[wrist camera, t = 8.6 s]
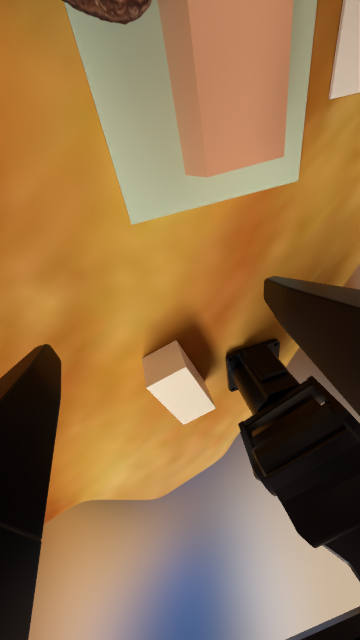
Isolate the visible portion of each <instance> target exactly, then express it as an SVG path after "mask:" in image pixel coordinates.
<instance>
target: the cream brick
mask: <svg viewBox="0 0 360 640" xmlns="http://www.w3.org/2000/svg"><path fill="white" fill-rule="evenodd" d="M142 362H143V368H144V375H145V382H146V388H147V389H148V390H149V391H150V392H151V393H152V394H153V395H154V396H155V397H156V398H157V399H158V400H159V401H160V402H161V403H162V404H163V405H164V406H165V407H166V408H167V409H168V410H169V411H170V412H171V413H172V414H173V415H174V416H175V417H176V418H177V419H178V420H179V421H180V422H181V423H182V424H183V425H184V424H186V423H188V422H190V421H192V420H194V419H196V418H198V417H200V416H202V415H204V414H206V413H208V412H210V411H212V410H214V409H216V407H215V405H214V403H213V400H212V398H211V396H210V393H209V391H208V388H207V386H206V384H205V381H204V380H203V378H202V377H201V376H200V374H199V373H198V371H197V370H196V368H195V367H194V365H193V364H192V362H191V361H190V359H189V358H188V357H187V355H186V354H185V352H184V351H183V349H182V348H181V346H180V345H179V343H178V342H177V340H175V341H173V342H171V343H170V344H168V345H166V346H164V347H162V348H160V349H159V350H157V351H155V352H153V353H151V354H149V355H147V356H146V357H144V358H142Z"/></svg>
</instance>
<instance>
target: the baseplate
mask: <svg viewBox="0 0 360 640" xmlns="http://www.w3.org/2000/svg"><path fill="white" fill-rule="evenodd" d="M64 3H65V7H66V10H67V13H68V16H69V20H70V23H71V26H72V30H73V33H74V36H75V40H76V43H77V46H78V49H79V53H80V56H81V59H82V63H83V66H84V69H85V72H86V76H87V79H88V82H89V86H90V89H91V92H92V95H93V99H94V102H95V105H96V109H97V112H98V115H99V119H100V122H101V125H102V128H103V132H104V135H105V138H106V142H107V145H108V148H109V151H110V155H111V158H112V161H113V165H114V168H115V171H116V175H117V178H118V181H119V184H120V188H121V191H122V194H123V198H124V201H125V204H126V207H127V211H128V214H129V217H130V221H131V224H136V223H140V222H144V221H148V220H151V219H155V218H159V217H163V216H167V215H170V214H174V213H178V212H182V211H186V210H189V209H193V208H197V207H201V206H205V205H208V204H212V203H216V202H220V201H224V200H227V199H231V198H235V197H239V196H243V195H246V194H250V193H254V192H258V191H262V190H265V189H269V188H273V187H277V186H281V185H284V184H288V183H292V182H296V181H298V177H299V167H300V158H301V149H302V139H303V130H304V120H305V111H306V102H307V92H308V83H309V73H310V64H311V55H312V45H313V36H314V26H315V17H316V8H317V0H293V16H292V33H291V49H290V66H289V83H288V99H287V116H286V133H285V149H284V157H281V158H278V159H274V160H270V161H266V162H263V163H259V164H255V165H252V166H248V167H244V168H241V169H237V170H233V171H229V172H226V173H222V174H218V175H215V176H211V177H198V176H189V175H185V169H184V163H183V156H182V150H181V144H180V138H179V131H178V125H177V119H176V113H175V107H174V100H173V94H172V88H171V82H170V75H169V69H168V63H167V57H166V51H165V44H164V38H163V32H162V26H161V19H160V13H159V7H158V1H157V0H152V1H151V4H150V7H149V8H148V9H147V10H146V11H145V12H144V14H143V15H142V16H141V17H140V18H138V19H137V20H135V21H133V22H129V23H128V24H126V25H124V24H119V23H110V22H107V21H102V20H100V19H99V18H95V17H93V16H90V15H87V14H85V13H83V12H80V11H78V10H76V9H74V8H72V7H71V6H70V5H69V4H68V3H66V2H64Z"/></svg>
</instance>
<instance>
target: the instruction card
mask: <svg viewBox="0 0 360 640" xmlns="http://www.w3.org/2000/svg"><path fill="white" fill-rule="evenodd" d="M355 93H360V0H343V5H342V11H341V18H340V25H339V32H338V38H337V45H336V52H335V59H334V65H333V72H332V79H331V86H330V92H329V99H334V98H338V97H342V96H347V95H351V94H355ZM329 99H328V100H329Z"/></svg>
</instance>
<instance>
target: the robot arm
mask: <svg viewBox="0 0 360 640" xmlns="http://www.w3.org/2000/svg"><path fill="white" fill-rule="evenodd" d="M264 300H265V302H266V303H267V305H268V306H269V308H270V309H271V311H272V312H273V314H274V315H275V317H276V318H277V320H278V321H279V323H280V324H281V325H282V327H283V328H284V329H285V330H286V332H287V333H288V334H289V335H290V336H291V337H292V338H293V340H294V341H295V342H296V343H297V344H298V345H299V347H300V348H301V349H302V350H303V351H304V352H305V353H306V355H307V356H308V357H309V358H310V359H311V360H312V362H313V363H314V364H315V365H316V366H317V367H318V368H319V370H320V371H321V372H322V373H323V374H324V375H325V376H326V378H327V379H328V380H329V381H330V382H331V383H332V385H333V386H334V387H335V388H336V389H337V390H338V391H339V393H340V394H341V395H342V396H343V397H344V398H345V400H346V401H347V402H348V403H349V404H350V405H351V406H352V408H353V409H354V410H355V411H356V412H357V413H358V415H359V416H360V290H358V289H352V288H346V287H340V286H334V285H327V284H321V283H315V282H309V281H302V280H296V279H290V278H284V277H277V276H273V277H270V278H267V279H265V281H264ZM279 347H280V342H279V341H278V340H277V339H274V340H270V341H267V342H264V343H261V344H258V345H255V346H252V347H249V348H246V349H243V350H240V351H237V352H234V353H231V354H228V355H227V356H226V358H225V359H226V369H227V379H228V388H229V390H230V391H231V392H233V391H236V390H239V391H240V393H241V395H242V396H243V398H244V400H245V402H246V404H247V405H248V407H249V409H250V411H251V412H252V414H253V416H251V417H250V418H248V419H247V420H245V421H242V422H240V423H239V424H238V425H239V428H240V431H241V432H240V433H241V436H242V439H243V442H244V445H245V448H246V451H247V454H248V456H249V460H250V463H251V465H252V468H253V473H254V476H255V477H256V479H258V480H260V481H261V482H262V483H263V485H264V486H265V487H266V489H268V491H269V492H270V493H271V494H272V495H274V496H277V497H278V498H279V500H280V501H281V503H282V505H283V507H284V508H285V510H286V512H287V514H288V516H289V518H290V519H291V521H292V523H293V525H294V527H295V529H296V531H297V532H298V534H299V535H300V536H301V537H302V538H304V539H305V540H306V541H307V542H308V543H309V544H310V545H311V546H312V547H314V548H317V547H319V546H321V545H322V546H324V547H325V548H327V549H328V550H329V551H331V552H332V553H333V554H335V555H336V556H337V557H338V558H340V559H341V560H342V561H344V562H345V563H347V564H348V565H349V566H350V568H351V569H352V571H353V572H354V574H355V575H356V577H357V578H358V580H359V581H360V423H359V422H358V421H357V420H356V419H355V418H354V417H353V416H352V415H351V414H350V413H349V412H348V411H347V409H346V408H345V407H344V406H342V404H341V403H339V402H338V401H337V400H336V399H335V398H334V397H333V396H332V395H331V394H330V393H329V392H328V391H327V390H326V389H325V388H324V387H323V386H322V385H321V384H320V383H319V382H317V380H316V379H315V378H314V377H313V376H310V377H309V378H307V380H306V381H304V382H303V383H302V384H299V383H298V381H297V380H296V379H295V378H294V377H293V375H292V374H291V373H290V372H289V371H288V370H287V368H286V367H285V366H284V364H283V363H282V362H281V361H280V360H279V359H278V357H279ZM60 400H61V360H60V358H59V357H58V355H57V354H56V353H55V351H54V350H53V349H52V347H51V346H50V345H49V344H44V345H41V346H38V347H36V348H34V349H33V350H32V351H31V352H30V353H29V354H28V355H26V356H25V357H24V358H23V359H22V360H21V361H20V362H18V363H17V364H16V365H15V366H14V367H13V368H12V369H10V370H9V371H8V372H7V373H6V374H5V375H4V376H2V377H1V378H0V640H28V637H29V630H30V622H31V615H32V607H33V600H34V593H35V586H36V579H37V571H38V564H39V557H40V549H41V539H42V533H43V526H44V519H45V511H46V504H47V496H48V489H49V482H50V474H51V467H52V460H53V452H54V445H55V438H56V430H57V423H58V416H59V408H60ZM323 402H325V404H323V405H320V404H321V403H323ZM286 640H360V606H359V607H357V608H355V609H353V610H351V611H349V612H346V613H344V614H342V615H340V616H337V617H335V618H333V619H331V620H328V621H326V622H324V623H322V624H319V625H318V626H315V627H313V628H311V629H308V630H306V631H304V632H302V633H299V634H297V635H295V636H293V637H290V638H288V639H286Z"/></svg>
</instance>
